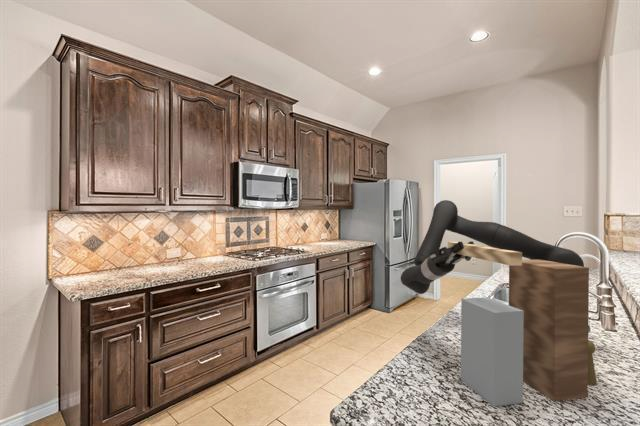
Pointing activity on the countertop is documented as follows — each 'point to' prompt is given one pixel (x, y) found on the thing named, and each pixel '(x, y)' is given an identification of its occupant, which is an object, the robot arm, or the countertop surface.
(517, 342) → the grey rectangular block
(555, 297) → the tall walnut stand
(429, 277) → the robot arm
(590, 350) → the cork
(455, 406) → the countertop surface
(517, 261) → the beech bar
